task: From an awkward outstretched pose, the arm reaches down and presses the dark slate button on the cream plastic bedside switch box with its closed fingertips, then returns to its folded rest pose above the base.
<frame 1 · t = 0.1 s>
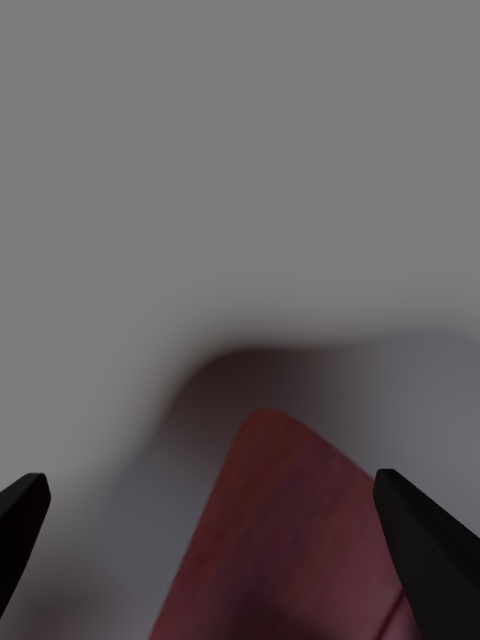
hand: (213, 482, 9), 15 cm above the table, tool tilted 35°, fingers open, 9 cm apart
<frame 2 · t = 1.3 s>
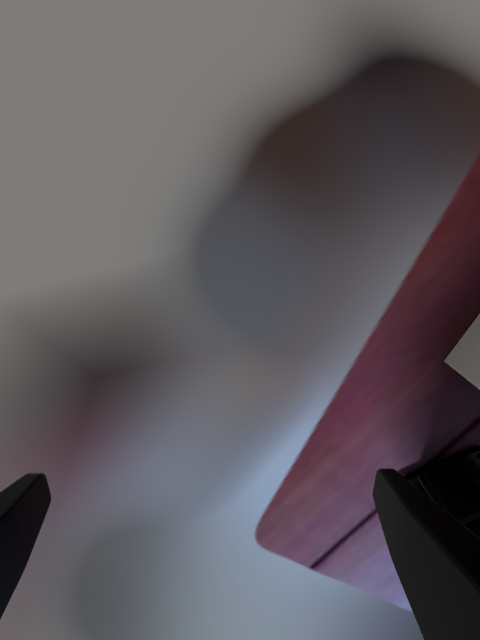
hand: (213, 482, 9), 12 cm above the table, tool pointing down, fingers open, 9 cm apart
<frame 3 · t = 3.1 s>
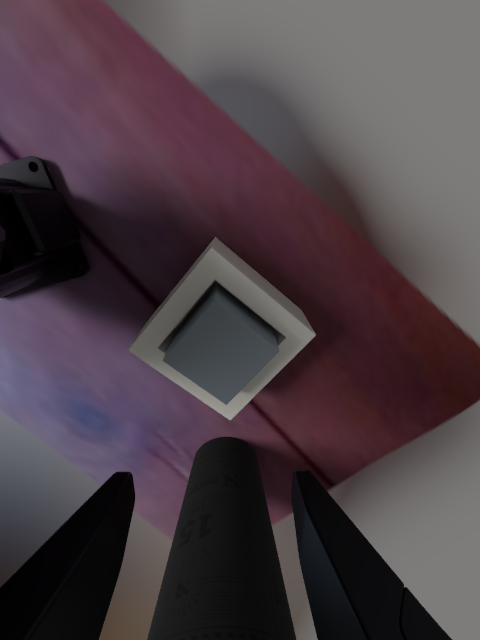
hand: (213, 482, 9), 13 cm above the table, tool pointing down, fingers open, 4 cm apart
drinking cup: (226, 460, 26), on the table
switch box: (223, 316, 21), on the table
button: (221, 342, 17), point 4 cm above the table, slide at 0.0 cm
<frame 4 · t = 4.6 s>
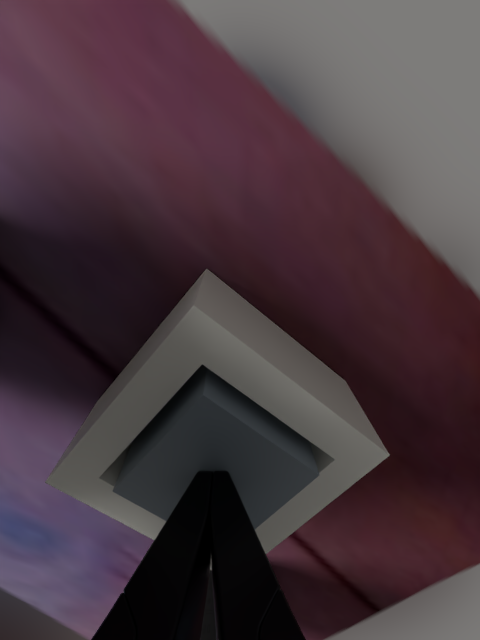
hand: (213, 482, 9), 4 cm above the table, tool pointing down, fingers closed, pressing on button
drinking cup: (225, 580, 18), on the table
switch box: (221, 390, 13), on the table
button: (217, 444, 10), point 3 cm above the table, slide at 1.0 cm, touching gripper
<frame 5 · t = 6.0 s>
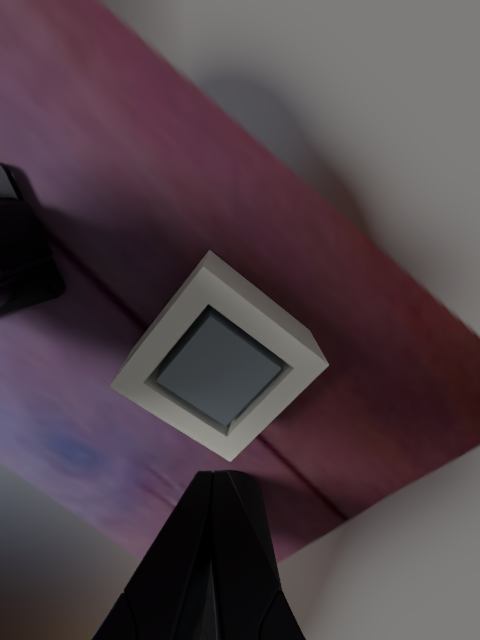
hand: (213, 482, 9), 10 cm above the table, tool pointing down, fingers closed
drinking cup: (227, 494, 23), on the table
switch box: (221, 338, 19), on the table
button: (219, 359, 16), point 2 cm above the table, slide at 1.6 cm
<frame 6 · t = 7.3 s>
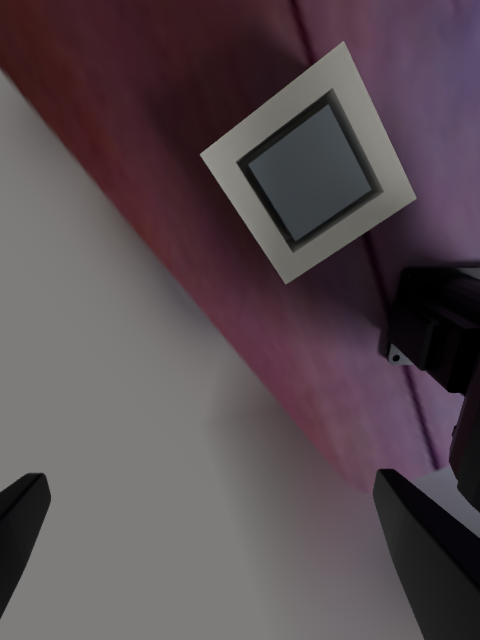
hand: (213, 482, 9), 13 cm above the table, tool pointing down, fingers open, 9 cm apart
switch box: (295, 180, 18), on the table
button: (304, 178, 16), point 2 cm above the table, slide at 1.6 cm
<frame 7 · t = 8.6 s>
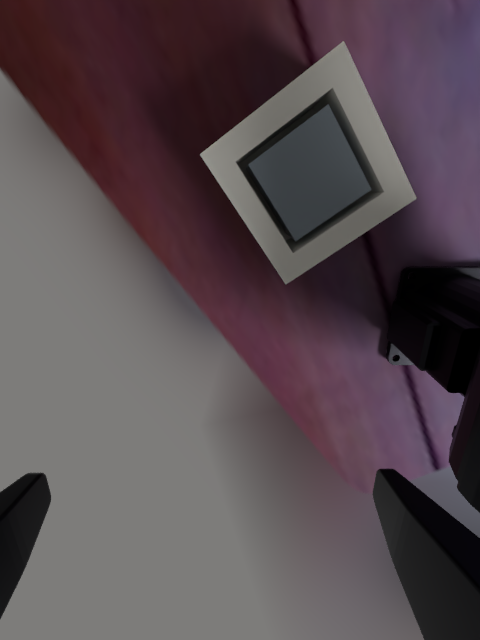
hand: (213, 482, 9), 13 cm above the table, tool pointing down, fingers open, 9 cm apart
switch box: (295, 180, 18), on the table
button: (304, 178, 16), point 2 cm above the table, slide at 1.6 cm
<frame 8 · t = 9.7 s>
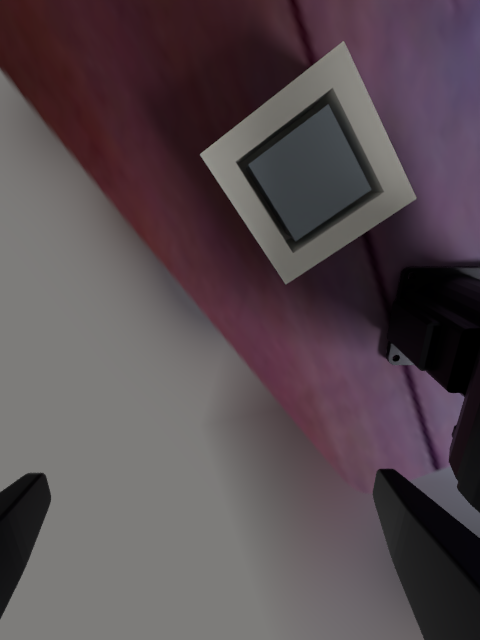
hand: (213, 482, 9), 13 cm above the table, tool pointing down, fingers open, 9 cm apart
switch box: (295, 180, 18), on the table
button: (304, 178, 16), point 2 cm above the table, slide at 1.6 cm
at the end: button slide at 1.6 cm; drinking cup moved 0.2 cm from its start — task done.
